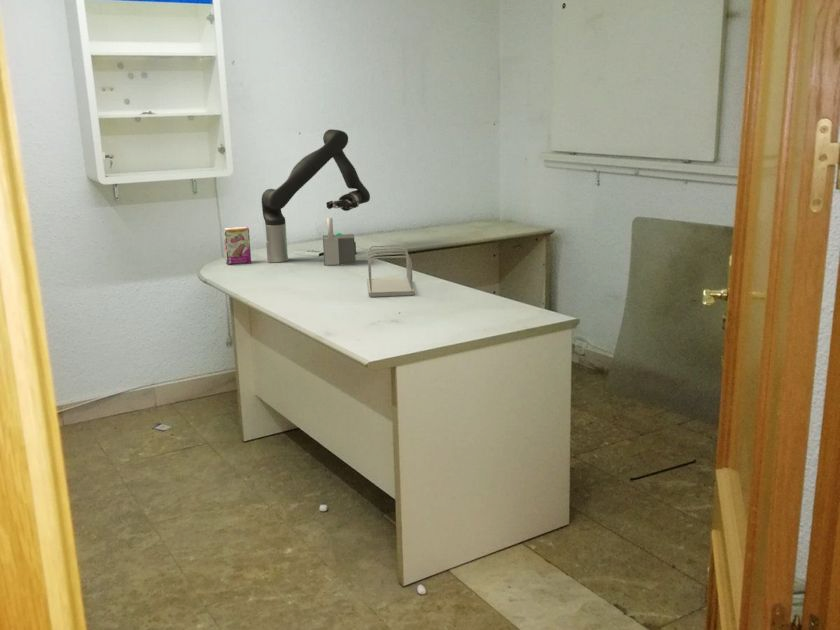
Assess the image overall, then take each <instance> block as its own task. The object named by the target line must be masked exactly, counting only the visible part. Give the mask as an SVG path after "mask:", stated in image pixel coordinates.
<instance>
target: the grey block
mask: <svg viewBox="0 0 840 630" xmlns="http://www.w3.org/2000/svg"><path fill="white" fill-rule="evenodd" d="M325 238H328V234H327V235H322V242H323V243H322V246H323V249H324V239H325ZM333 238H338V248H339V264H338V265H339V266H340V265H341V264H343V265H356V255H357V246H356V245H357V244H356V241H355V235H354V233H349V234H346V233H345V234H343V235H335V234H333ZM323 261H324V266H326V265H325V254H324V253H323Z"/></svg>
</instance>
